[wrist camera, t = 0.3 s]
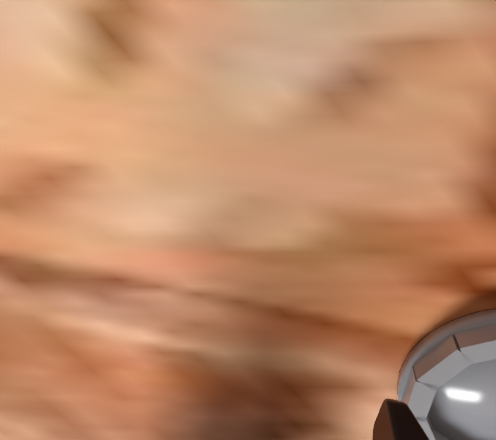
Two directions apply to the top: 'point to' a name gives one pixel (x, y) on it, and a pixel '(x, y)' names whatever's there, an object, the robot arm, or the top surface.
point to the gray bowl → (454, 379)
